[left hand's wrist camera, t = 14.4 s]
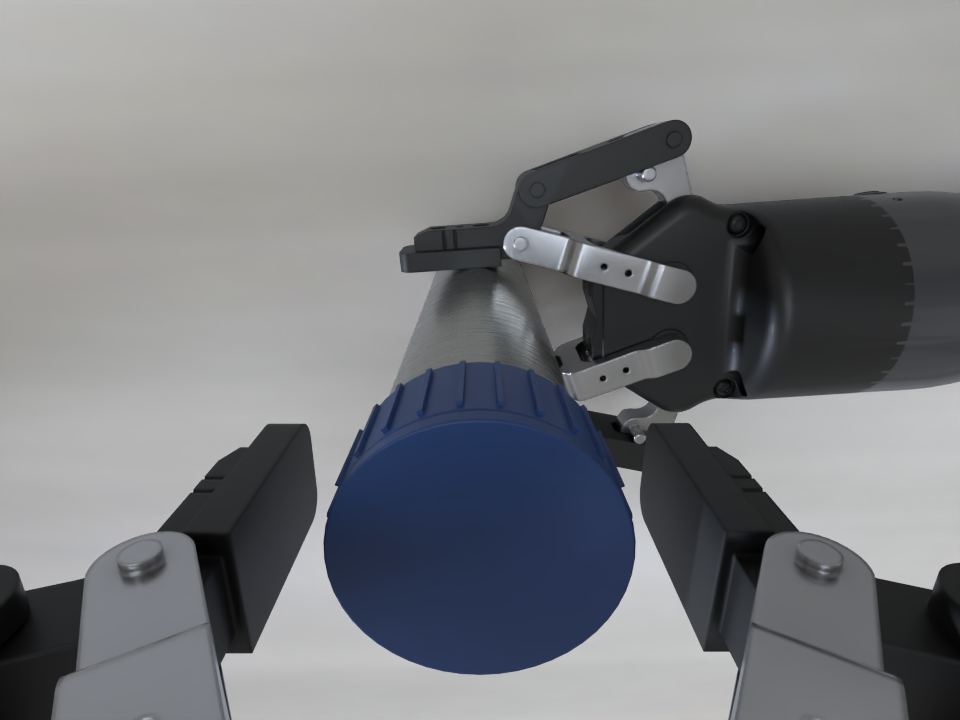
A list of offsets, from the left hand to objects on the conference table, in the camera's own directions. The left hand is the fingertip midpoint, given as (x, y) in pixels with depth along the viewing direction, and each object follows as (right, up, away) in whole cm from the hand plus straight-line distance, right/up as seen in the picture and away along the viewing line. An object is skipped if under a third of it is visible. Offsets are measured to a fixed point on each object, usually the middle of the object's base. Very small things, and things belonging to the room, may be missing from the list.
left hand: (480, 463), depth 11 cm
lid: (0, -1, -2) cm, 3 cm away
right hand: (-3, +4, +10) cm, 11 cm away
